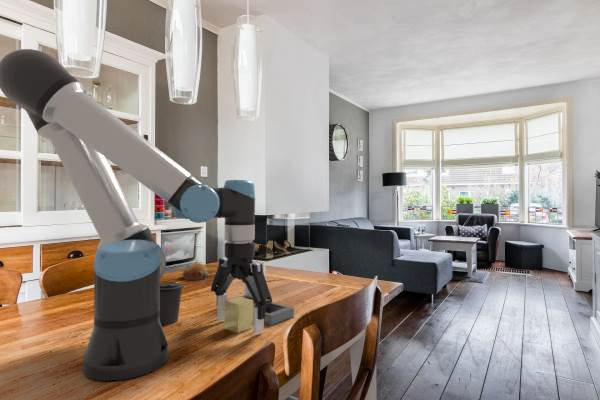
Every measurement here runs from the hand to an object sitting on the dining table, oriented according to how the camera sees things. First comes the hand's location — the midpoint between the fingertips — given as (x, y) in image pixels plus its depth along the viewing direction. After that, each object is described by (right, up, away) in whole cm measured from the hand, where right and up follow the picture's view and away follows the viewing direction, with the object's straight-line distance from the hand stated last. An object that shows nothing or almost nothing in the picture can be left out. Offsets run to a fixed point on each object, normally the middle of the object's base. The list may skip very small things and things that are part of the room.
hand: (239, 325), depth 91 cm
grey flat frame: (+3, -1, +12) cm, 12 cm away
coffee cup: (-20, -1, +4) cm, 20 cm away
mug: (+1, -1, +26) cm, 26 cm away
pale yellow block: (0, -1, 0) cm, 1 cm away
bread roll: (-27, -1, +57) cm, 63 cm away
